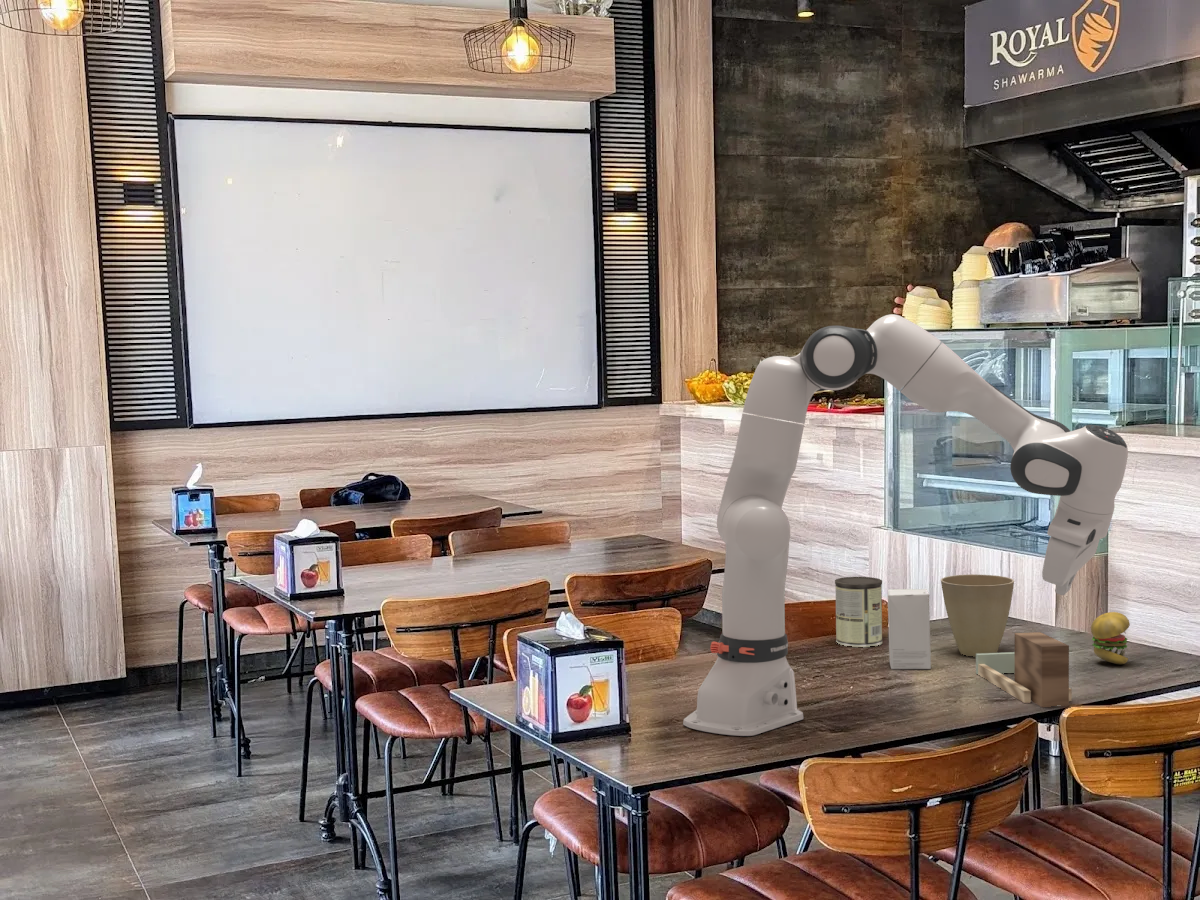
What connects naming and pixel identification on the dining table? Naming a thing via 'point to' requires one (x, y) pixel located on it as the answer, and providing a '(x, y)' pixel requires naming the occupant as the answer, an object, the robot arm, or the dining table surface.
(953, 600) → the plant pot
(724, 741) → the dining table surface
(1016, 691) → the chute
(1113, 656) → the hamburger
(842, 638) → the coffee can
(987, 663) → the end stop
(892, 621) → the skincare box
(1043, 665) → the block
